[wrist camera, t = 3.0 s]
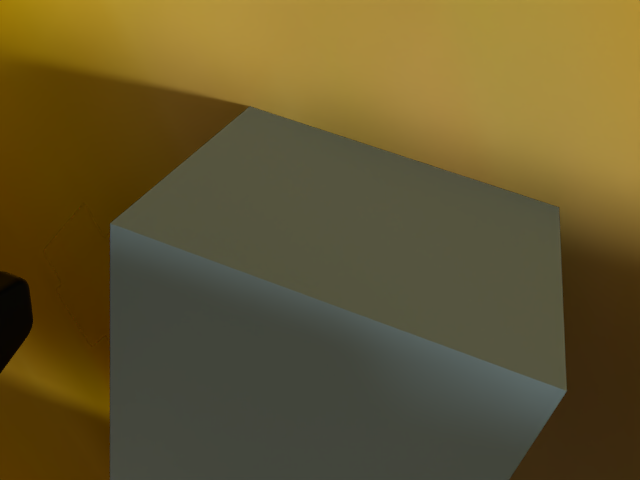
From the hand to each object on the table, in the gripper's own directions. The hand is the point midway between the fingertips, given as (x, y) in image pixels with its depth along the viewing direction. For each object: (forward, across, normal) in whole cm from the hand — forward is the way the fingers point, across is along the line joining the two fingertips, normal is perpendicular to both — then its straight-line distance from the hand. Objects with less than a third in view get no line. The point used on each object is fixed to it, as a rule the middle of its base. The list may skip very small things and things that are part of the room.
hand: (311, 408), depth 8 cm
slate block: (+3, 0, 0) cm, 3 cm away
